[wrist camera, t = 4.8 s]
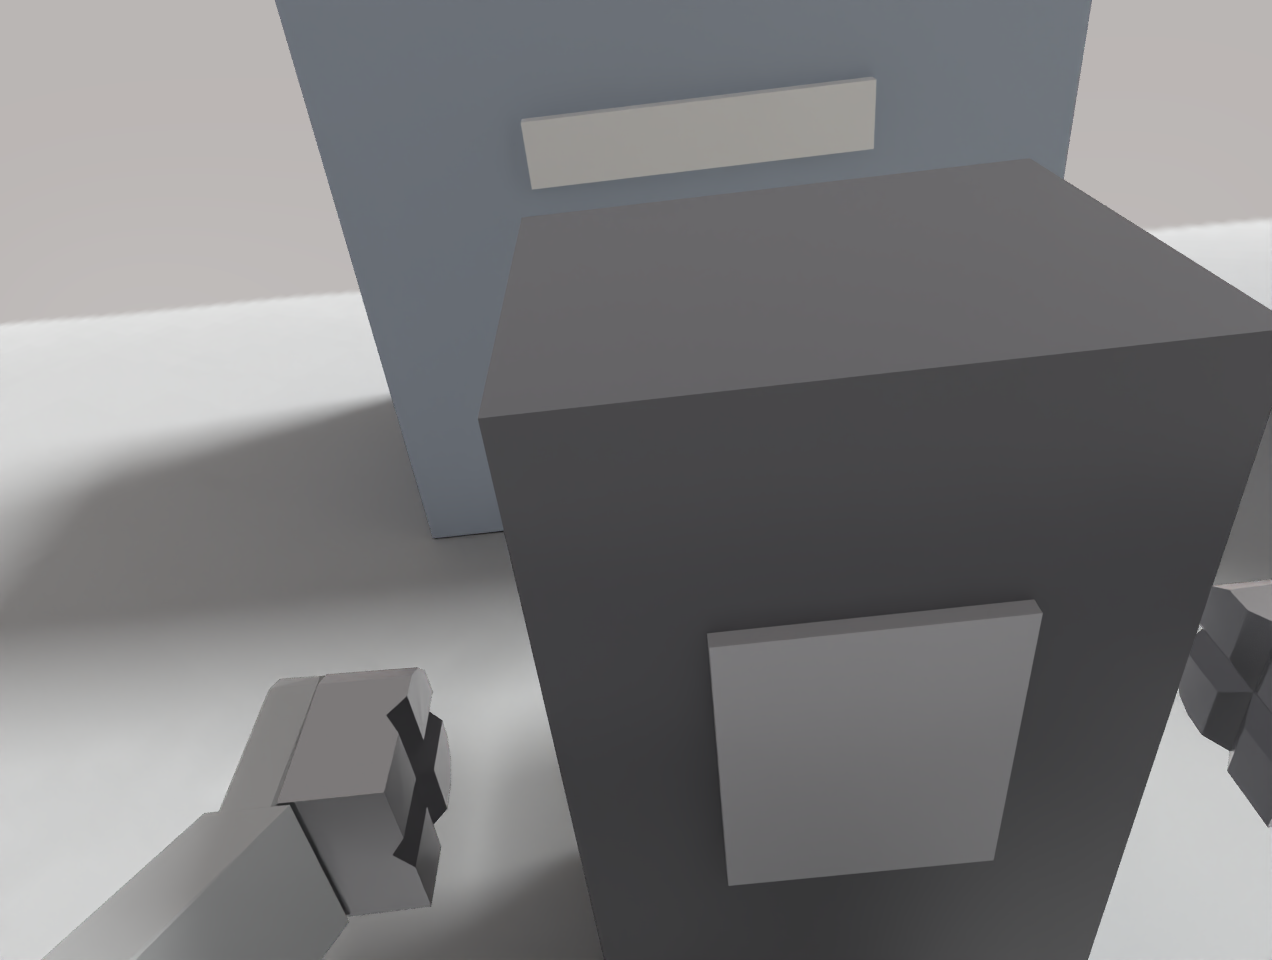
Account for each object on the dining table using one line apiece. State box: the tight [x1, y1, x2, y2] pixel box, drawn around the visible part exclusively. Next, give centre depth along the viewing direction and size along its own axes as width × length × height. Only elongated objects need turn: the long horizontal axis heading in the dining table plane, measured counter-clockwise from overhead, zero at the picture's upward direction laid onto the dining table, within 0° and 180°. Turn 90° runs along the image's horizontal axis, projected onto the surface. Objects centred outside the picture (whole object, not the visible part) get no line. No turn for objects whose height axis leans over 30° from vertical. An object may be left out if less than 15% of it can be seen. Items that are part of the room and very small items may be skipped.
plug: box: [478, 158, 1272, 960], centre depth 11 cm, size 5×8×10 cm, turn 2°
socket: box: [275, 0, 1092, 538], centre depth 21 cm, size 14×9×12 cm, turn 92°
